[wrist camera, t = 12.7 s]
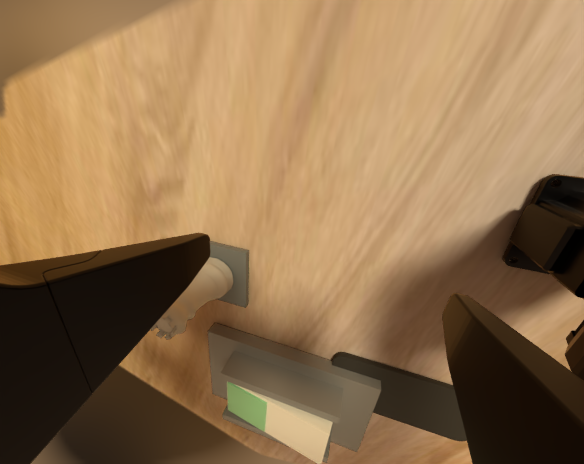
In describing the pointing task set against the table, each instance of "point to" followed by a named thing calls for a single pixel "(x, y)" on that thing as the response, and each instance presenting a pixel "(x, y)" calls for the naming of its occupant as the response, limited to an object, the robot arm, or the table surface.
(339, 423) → the grey stand
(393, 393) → the phone
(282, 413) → the rocker
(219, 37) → the table surface
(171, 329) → the rook chess piece
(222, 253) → the rubber pad
